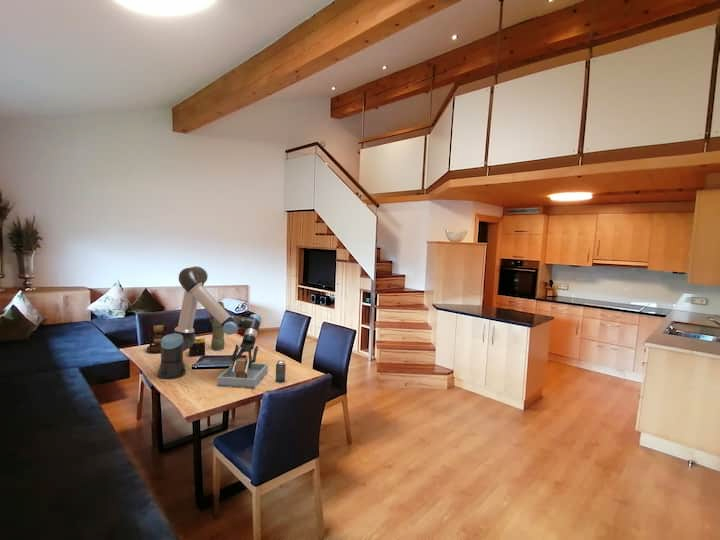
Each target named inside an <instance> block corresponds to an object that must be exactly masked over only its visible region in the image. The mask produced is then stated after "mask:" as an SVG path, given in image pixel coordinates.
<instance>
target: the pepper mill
mask: <svg viewBox="0 0 720 540" xmlns="http://www.w3.org/2000/svg"><path fill="white" fill-rule="evenodd" d="M286 365H287V364H286V362H285V360H283V359H280V360H277V361H276V364H275V383H277V382H278V384H279V383H280V384H282V382H283V383H285V382H286Z"/></svg>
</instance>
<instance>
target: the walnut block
mask: <svg viewBox="0 0 720 540" xmlns="http://www.w3.org/2000/svg"><path fill="white" fill-rule="evenodd" d="M247 362H248V358H247V357H240V358H238V359H237V360H236V378H246V379H247V374H245V369H246V365H247Z"/></svg>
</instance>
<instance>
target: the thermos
mask: <svg viewBox="0 0 720 540" xmlns="http://www.w3.org/2000/svg"><path fill="white" fill-rule="evenodd" d="M217 302H218V303H219V304H220V305H221V306H222V307H223V308H224V309H225V310H226V312H227V313H228V309H227V308H226V307H225V304H224V302H223V301H217ZM209 323H211V326H212V334H211V335H212V338H211V345H210V346H211V350H212V351H223V350H224V349H225V337H224V336H225V333H224V331H223V327H222V326H221V325H220V323H219V322H218V321H217V320H216V319H215V318H214V317H213V316H212V315H211V314H210V313H209Z"/></svg>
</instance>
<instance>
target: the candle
mask: <svg viewBox="0 0 720 540" xmlns="http://www.w3.org/2000/svg"><path fill="white" fill-rule="evenodd" d="M188 356H189V358H193V357H195V358H196V357H204V356H206V339H205V338H196V339H195V342H194V344H193V345H192V346H191V347H190V348H189V349H188Z"/></svg>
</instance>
